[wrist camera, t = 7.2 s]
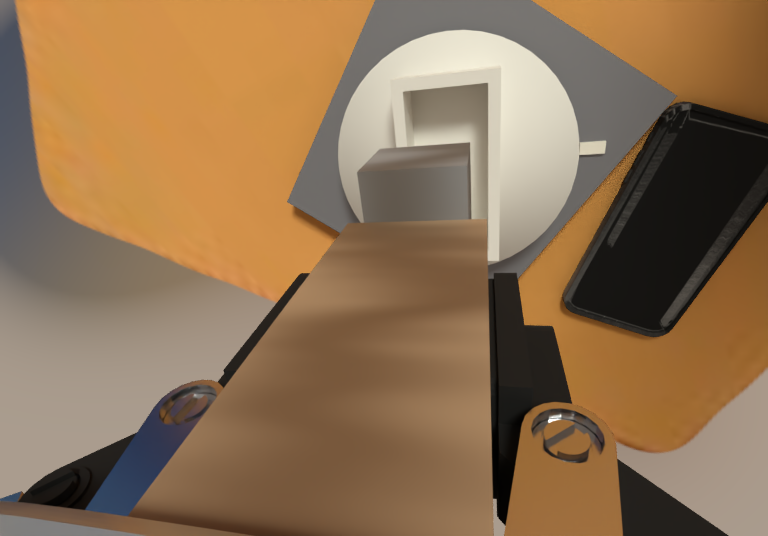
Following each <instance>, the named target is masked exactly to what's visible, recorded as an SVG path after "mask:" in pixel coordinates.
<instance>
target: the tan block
mask: <svg viewBox="0 0 768 536" xmlns="http://www.w3.org/2000/svg"><path fill="white" fill-rule="evenodd" d="M357 176H358V183H359V190H360V198H361V205H362V212H363V219H364V223H348V224H347V225H346V226H345V228H344V229H343V230H342V232H341V233H340V234H339V236H338V237H337V238H336V240H335V241H334V242H333V244H332V245H331V246H330V248H329V249H328V250H327V252H326V253H325V254H324V256H323V257H322V258H321V260H320V261H319V262H318V263H317V265H316V266H315V267H314V269H313V270H312V271H311V273H310V274H309V275H308V277H307V278H306V279H305V281H304V282H303V283H302V285H301V286H300V287H299V289H298V290H297V291H296V293H295V294H294V295H293V297H292V298H291V299H290V301H289V302H288V303H287V305H286V306H285V307H284V309H283V310H282V311H281V313H280V314H279V315H278V317H277V318H276V319H275V321H274V322H273V323H272V325H271V326H270V327H269V329H268V330H267V331H266V333H265V334H264V335H263V337H262V338H261V339H260V341H259V342H258V343H257V345H256V346H255V347H254V349H253V350H252V351H251V353H250V354H249V355H248V357H247V358H246V359H245V361H244V362H243V363H242V365H241V366H240V367H239V369H238V370H237V371H236V373H235V374H234V375H233V376H232V378H231V379H230V380H229V382H228V383H227V384H226V386H225V387H224V388H223V390H222V391H221V392H220V394H219V395H218V396H217V398H216V399H215V400H214V402H213V403H212V404H211V406H210V407H209V408H208V410H207V411H206V412H205V414H204V415H203V416H202V418H201V419H200V420H199V422H198V423H197V424H196V426H195V427H194V428H193V430H192V431H191V432H190V434H189V435H188V436H187V438H186V439H185V440H184V442H183V443H182V444H181V446H180V447H179V448H178V450H177V451H176V452H175V454H174V455H173V456H172V458H171V459H170V460H169V462H168V463H167V464H166V466H165V467H164V468H163V470H162V471H161V472H160V474H159V475H158V476H157V478H156V479H155V480H154V482H153V483H152V484H151V486H150V487H149V488H148V489H147V491H146V492H145V493H144V495H143V496H142V497H141V499H140V500H139V501H138V503H137V504H136V505H135V507H134V508H133V509H132V511H131V512H130V513H129V515H128V516H127V517H134V518H141V519H147V520H154V521H161V522H167V523H174V524H181V525H187V526H194V527H201V528H207V529H214V530H220V531H226V532H233V533H239V534H246V535H252V536H494V533H493V485H492V438H491V391H490V344H489V297H488V250H487V219H472V215H471V164H470V142H467V143H453V144H439V145H425V146H412V147H398V148H384V149H379V150H378V151H377V152H376V153H375V154H374V155H373V156H372V157H371V158H370V159H369V160H368V161H367V162H366V163H365V164H364V165H363V166H362V167H361V168H360V169H359V171H358V172H357Z"/></svg>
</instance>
